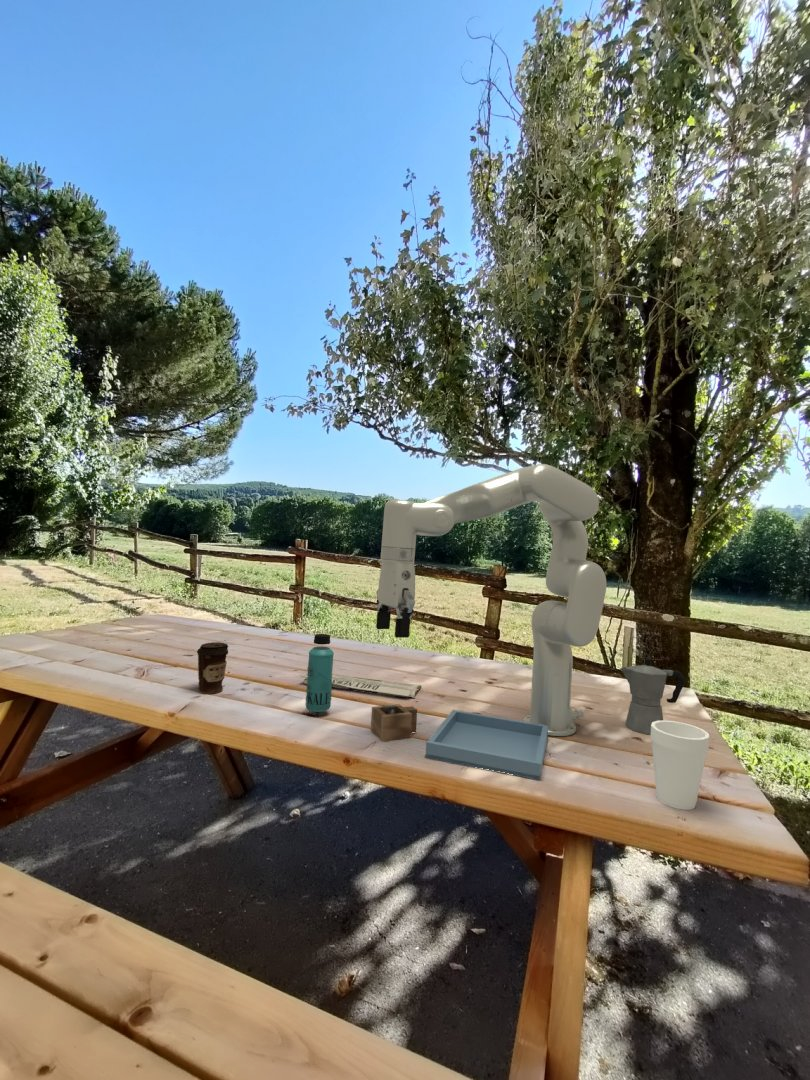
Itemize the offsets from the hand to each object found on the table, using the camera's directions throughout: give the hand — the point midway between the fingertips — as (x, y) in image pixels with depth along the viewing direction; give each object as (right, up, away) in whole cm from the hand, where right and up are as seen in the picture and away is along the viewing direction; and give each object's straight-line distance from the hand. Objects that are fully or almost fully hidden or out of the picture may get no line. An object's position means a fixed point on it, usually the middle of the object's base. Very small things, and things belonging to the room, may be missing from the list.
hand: (391, 632), depth 113 cm
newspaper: (-11, -24, +40) cm, 48 cm away
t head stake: (0, -24, +4) cm, 25 cm away
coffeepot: (+65, -28, +17) cm, 73 cm away
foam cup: (+52, -27, -20) cm, 62 cm away
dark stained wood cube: (+1, -24, +5) cm, 25 cm away
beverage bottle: (-19, -23, +15) cm, 34 cm away
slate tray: (+22, -25, 0) cm, 33 cm away
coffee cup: (-51, -22, +29) cm, 63 cm away
